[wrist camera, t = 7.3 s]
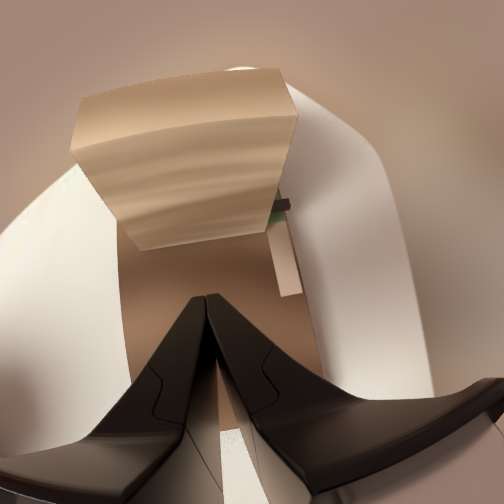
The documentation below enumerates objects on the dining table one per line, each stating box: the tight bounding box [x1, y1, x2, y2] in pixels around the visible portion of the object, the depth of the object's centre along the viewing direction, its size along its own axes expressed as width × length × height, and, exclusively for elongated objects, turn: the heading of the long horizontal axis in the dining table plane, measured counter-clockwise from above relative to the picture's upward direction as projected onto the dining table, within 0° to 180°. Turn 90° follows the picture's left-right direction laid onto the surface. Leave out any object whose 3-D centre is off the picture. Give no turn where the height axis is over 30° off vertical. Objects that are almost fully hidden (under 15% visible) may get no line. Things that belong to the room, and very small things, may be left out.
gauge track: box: [117, 188, 323, 431], centre depth 14 cm, size 16×10×7 cm, turn 11°
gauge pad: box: [70, 69, 299, 251], centre depth 13 cm, size 2×9×9 cm, turn 101°
